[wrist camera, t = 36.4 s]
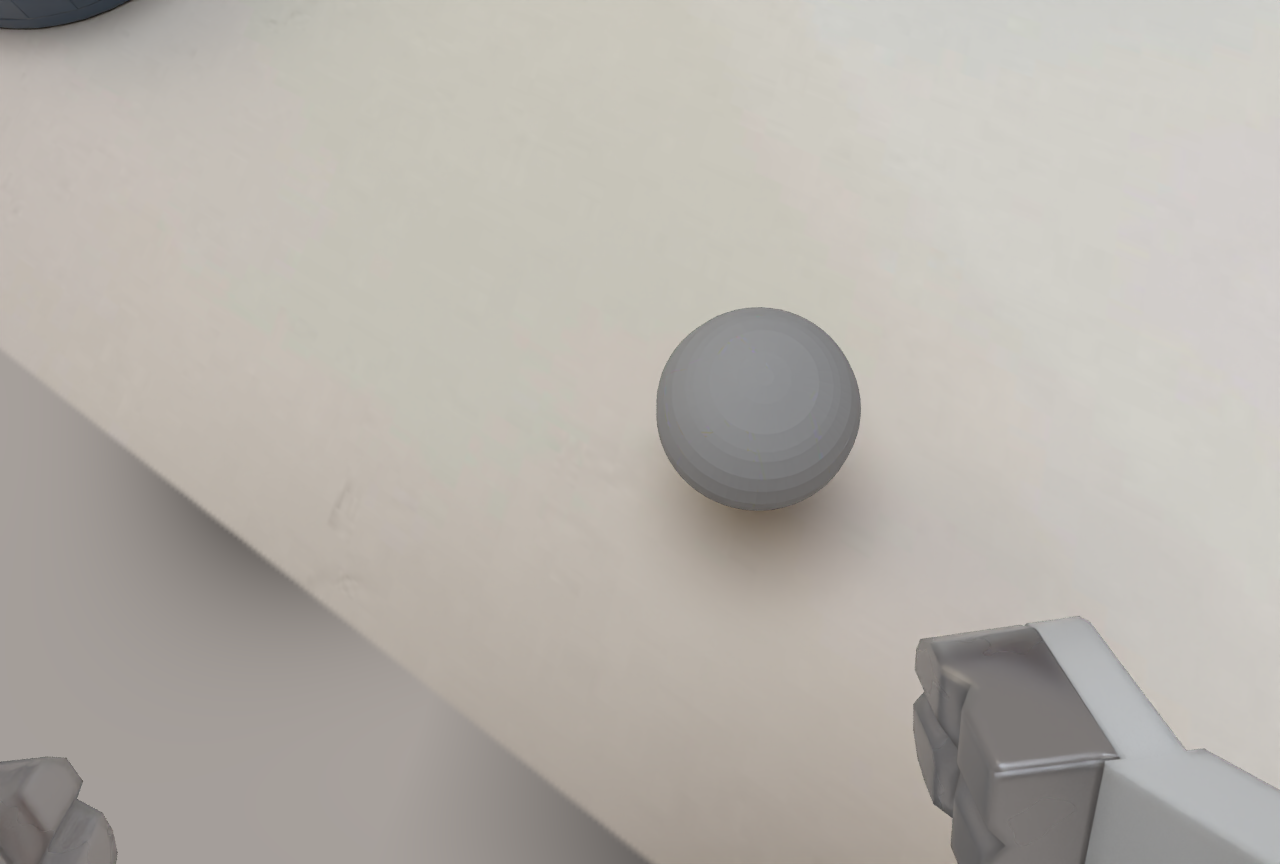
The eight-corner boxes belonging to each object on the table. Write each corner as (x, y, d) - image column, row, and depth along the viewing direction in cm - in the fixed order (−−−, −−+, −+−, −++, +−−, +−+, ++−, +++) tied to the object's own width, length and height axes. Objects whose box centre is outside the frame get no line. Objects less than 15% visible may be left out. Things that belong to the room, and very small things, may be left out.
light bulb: (712, 367, 33) (724, 236, 23) (848, 442, 32) (919, 339, 22) (633, 495, 32) (610, 414, 22) (771, 577, 31) (810, 530, 21)
